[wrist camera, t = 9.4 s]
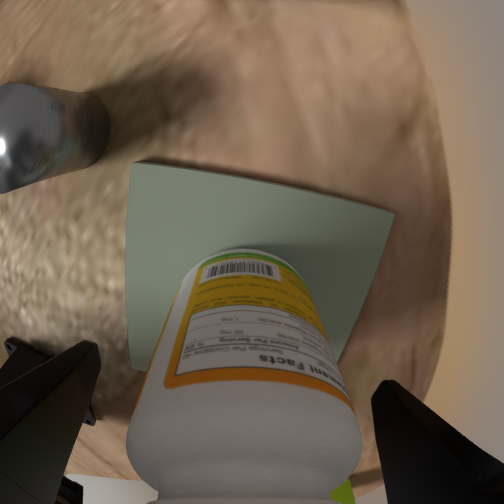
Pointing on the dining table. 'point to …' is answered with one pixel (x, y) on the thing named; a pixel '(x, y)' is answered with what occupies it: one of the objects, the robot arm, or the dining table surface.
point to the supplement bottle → (243, 392)
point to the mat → (243, 243)
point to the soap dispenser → (343, 493)
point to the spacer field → (47, 133)
